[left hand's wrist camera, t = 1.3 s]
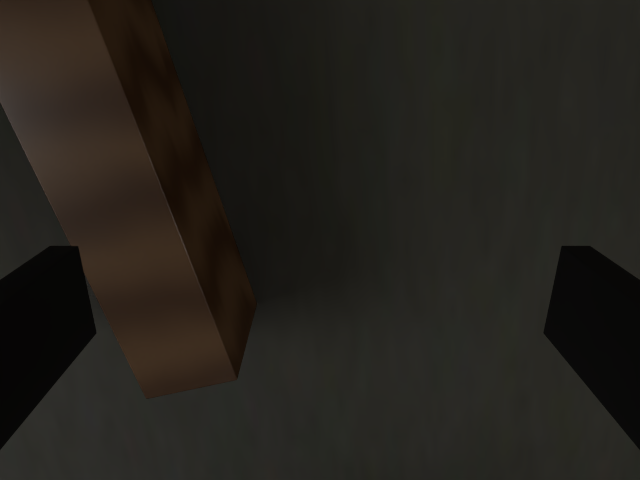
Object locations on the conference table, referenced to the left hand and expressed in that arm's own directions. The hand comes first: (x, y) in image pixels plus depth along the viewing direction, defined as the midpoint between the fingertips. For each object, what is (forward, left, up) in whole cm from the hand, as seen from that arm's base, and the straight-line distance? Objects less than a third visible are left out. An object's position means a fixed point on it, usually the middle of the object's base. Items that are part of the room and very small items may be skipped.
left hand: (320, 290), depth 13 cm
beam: (+8, +24, -18) cm, 31 cm away
